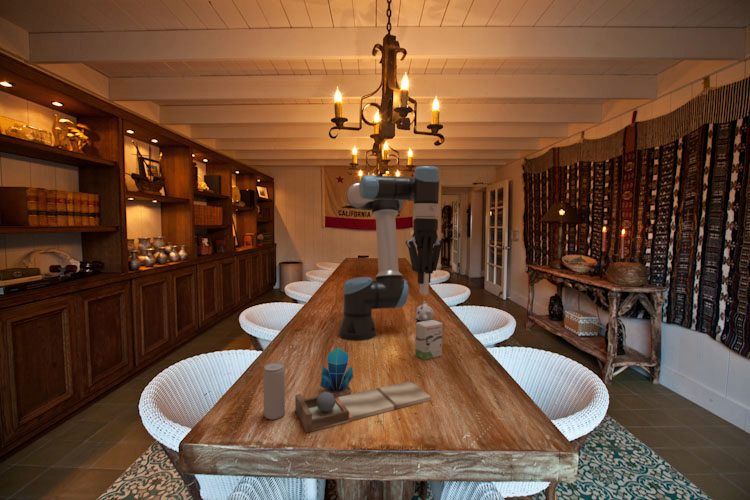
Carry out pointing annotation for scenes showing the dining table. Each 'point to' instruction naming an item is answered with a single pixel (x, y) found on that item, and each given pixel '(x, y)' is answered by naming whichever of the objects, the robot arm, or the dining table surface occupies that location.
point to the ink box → (428, 339)
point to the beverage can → (274, 390)
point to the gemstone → (337, 374)
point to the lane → (358, 405)
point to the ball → (325, 401)
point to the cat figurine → (424, 312)
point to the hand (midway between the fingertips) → (423, 293)
